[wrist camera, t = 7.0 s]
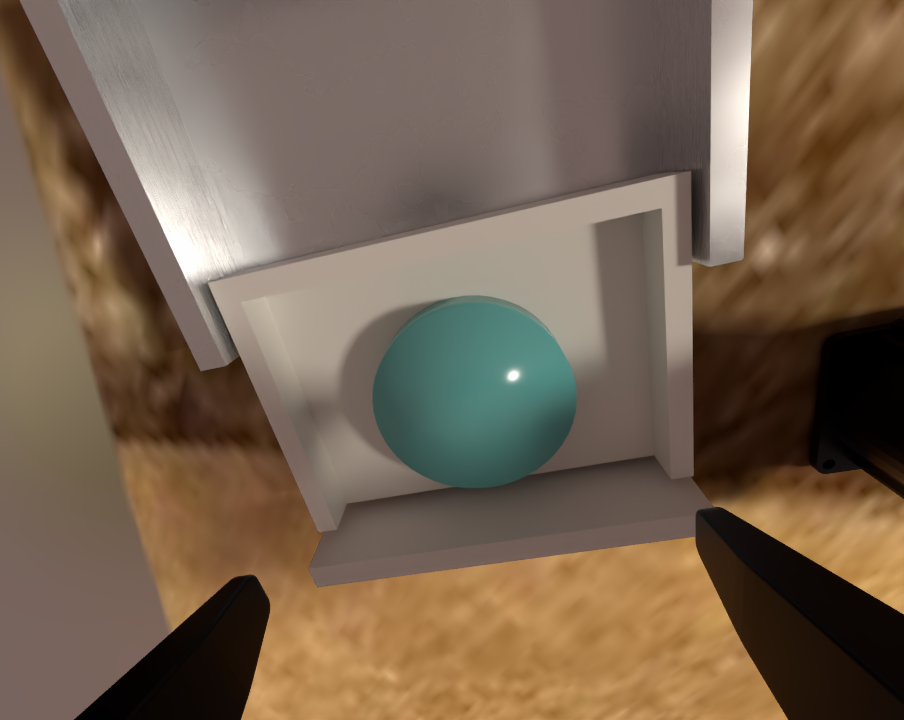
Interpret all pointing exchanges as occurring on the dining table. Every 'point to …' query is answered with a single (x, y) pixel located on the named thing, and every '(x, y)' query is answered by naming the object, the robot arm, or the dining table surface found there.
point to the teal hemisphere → (474, 393)
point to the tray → (576, 331)
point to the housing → (389, 120)
